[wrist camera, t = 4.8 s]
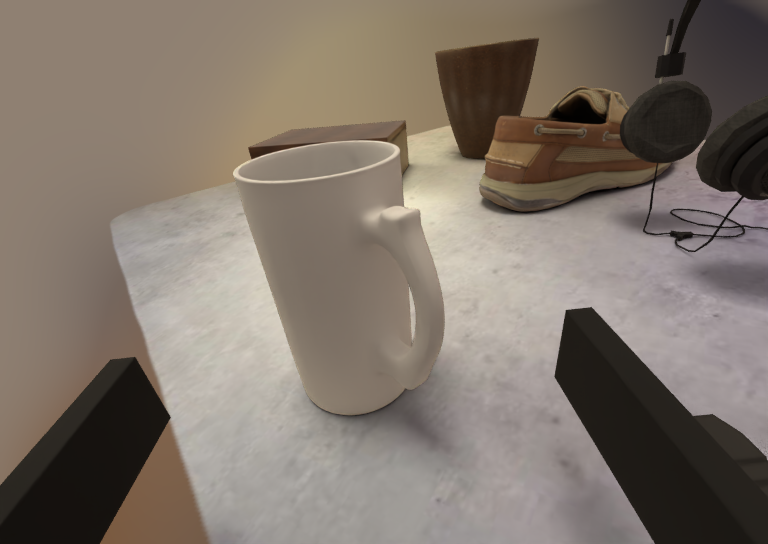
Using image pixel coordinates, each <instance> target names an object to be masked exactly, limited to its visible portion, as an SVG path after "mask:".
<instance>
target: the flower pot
mask: <svg viewBox="0 0 768 544" xmlns="http://www.w3.org/2000/svg"><path fill="white" fill-rule="evenodd" d="M538 41H539V38H529V39H521V40H513V41H506V42H499V43H491V44H484V45H476V46H470V47H462V48H456V49H449V50H443V51H437V52H435V55H436V62H437V67H438V74H439V79H440V85H441V89H442V94H443V98H444V102H445V106H446V110H447V113H448V117H449V121H450V124H451V127H452V130H453V133H454V136H455V139H456V142H457V144H458V147H459V149H460V152H461V154H462V156H464V157H467V158H476V159H480V158H485V155H486V154H488V152H489V149H490V146H491V143H492V140H493V136H494V133H495V126H496V123H497V120H498V118H499V117H500V116H520V114H521V111H522V108H523V104H524V101H525V98H526V94H527V91H528V87H529V83H530V79H531V75H532V71H533V66H534V61H535V56H536V51H537V46H538Z"/></svg>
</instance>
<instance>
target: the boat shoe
mask: <svg viewBox="0 0 768 544" xmlns="http://www.w3.org/2000/svg"><path fill="white" fill-rule="evenodd" d="M628 110H629V107H628V106H626V102H625V100H624V99H623V98H622V97H621V94H620V93H617V92H613V91H610V90H607V89H602V88H594V89H589V88H587V87H584V86H580V87H577V88H575V89H573V90H571V91H570V92H568V93H567V94H565V95H564V96H563V97H562V98H561V99H560V100H559V101H558V102H557V103H556V104H555V105H554V106H553V107H552V109H551V110H550V111H549V114H548V115H547V116H545V117H522V116H500V117H499V118H498V120H497V123H496V126H495V133H494V136H493V140H492V143H491V146H490V149H489V152H488V154H486V155H485V159H486V166H485V173H484V174H483V176H482V179H481V181H480V187H479V189H480V193H481V195H482V196H483V197H485V198H487V199H488V200H491V201H492V202H494V203H496V204H498V205H500V206H503V207H506V208H508V209H511V210H515V211H537V210H543V209H548V208H552V207H555V206H558V205H561V204H564V203H566V202H569V201H571V200H573V199H574V198H576V197H578V196H580V195H582V194H585V193H587V192H591V191H595V190H601V189H611V188H616V187H619V188H622V187H629V186H634V185H636V184H642V183H645V182H647V181H649V180H652V179H654V176H655V171H656V165H657V163H650V162H646V161H644V160H642V159H640V158H638V157H636V156H635V155H634V154H633V153H631V152H629V151H628V150H627V149H626V148H625V147H624V145H623V144H622V141H621V138H620V124H621V122H622V119H623V116H624V115H625V113H626V112H627V111H628ZM671 163H672V162H670V163H658V169H657V175H656V177H657V176H659V175H660V174H661V173H662V172H663V171H664V170H666V169H667V168H668V167H669V166H670V165H671Z"/></svg>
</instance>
